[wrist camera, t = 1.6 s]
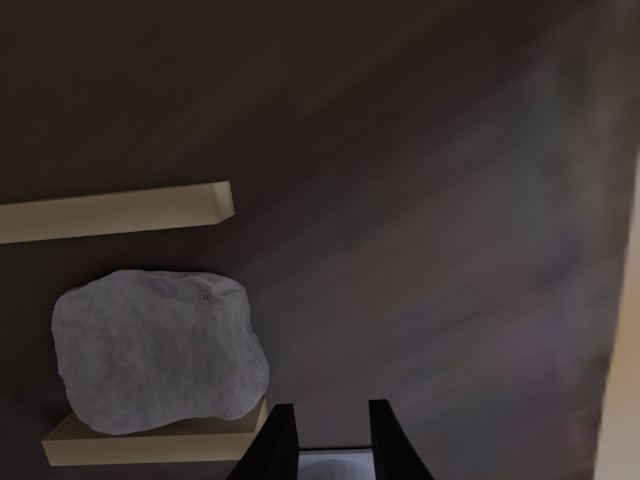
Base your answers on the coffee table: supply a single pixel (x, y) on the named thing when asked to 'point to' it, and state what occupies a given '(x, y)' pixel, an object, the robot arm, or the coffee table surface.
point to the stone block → (158, 350)
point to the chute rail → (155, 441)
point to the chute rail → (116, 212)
